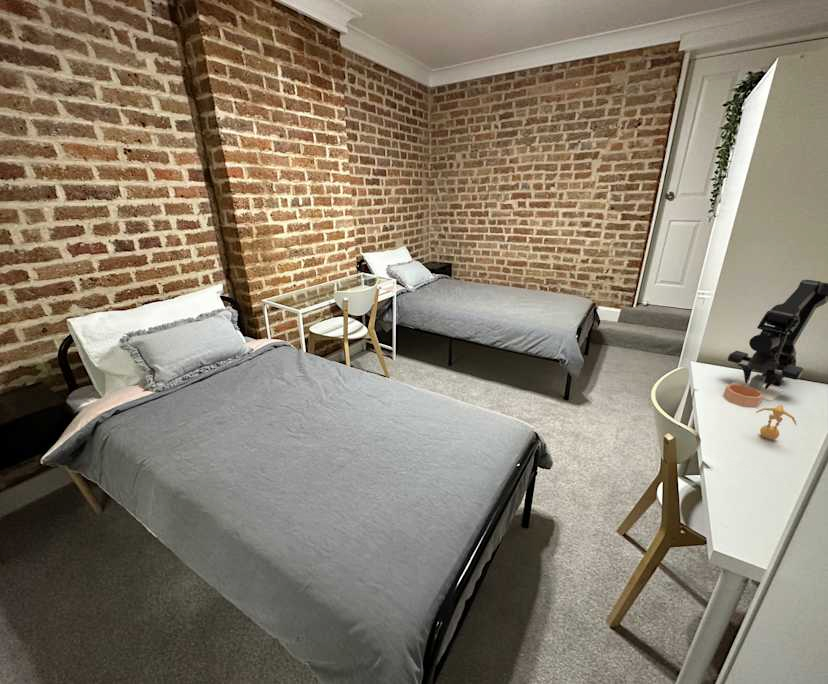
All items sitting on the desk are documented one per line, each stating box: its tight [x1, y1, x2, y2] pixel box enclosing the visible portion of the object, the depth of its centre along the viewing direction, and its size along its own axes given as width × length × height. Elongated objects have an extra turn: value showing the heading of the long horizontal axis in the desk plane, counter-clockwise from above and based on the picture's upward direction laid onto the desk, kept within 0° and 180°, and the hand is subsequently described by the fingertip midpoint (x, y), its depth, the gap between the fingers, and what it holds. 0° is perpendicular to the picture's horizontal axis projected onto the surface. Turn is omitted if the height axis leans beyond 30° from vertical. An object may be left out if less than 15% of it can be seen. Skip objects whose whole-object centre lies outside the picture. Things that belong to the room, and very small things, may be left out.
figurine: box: [755, 404, 797, 440], centre depth 103 cm, size 8×6×12 cm
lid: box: [730, 374, 783, 403], centre depth 130 cm, size 12×12×5 cm
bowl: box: [722, 383, 764, 409], centre depth 124 cm, size 9×9×4 cm
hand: (755, 385), depth 130 cm, fingers open, 5 cm apart
